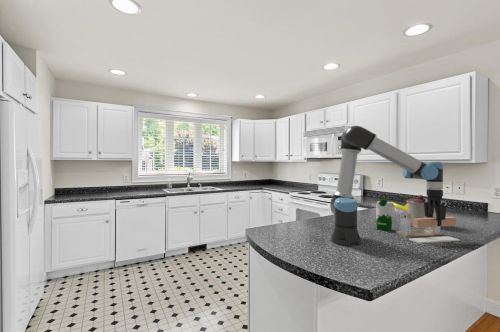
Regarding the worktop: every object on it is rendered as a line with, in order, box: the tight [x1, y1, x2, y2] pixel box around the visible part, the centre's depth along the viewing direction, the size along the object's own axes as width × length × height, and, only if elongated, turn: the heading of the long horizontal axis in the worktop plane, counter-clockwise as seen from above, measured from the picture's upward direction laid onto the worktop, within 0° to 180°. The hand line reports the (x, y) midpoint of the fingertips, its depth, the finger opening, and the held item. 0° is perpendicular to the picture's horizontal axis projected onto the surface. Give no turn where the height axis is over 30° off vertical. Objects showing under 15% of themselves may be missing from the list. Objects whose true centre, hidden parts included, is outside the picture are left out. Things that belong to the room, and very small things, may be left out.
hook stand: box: [395, 212, 441, 238], centre depth 155 cm, size 24×8×13 cm, turn 102°
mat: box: [408, 235, 461, 245], centre depth 142 cm, size 27×7×1 cm, turn 102°
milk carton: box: [375, 198, 393, 232], centre depth 166 cm, size 9×9×20 cm
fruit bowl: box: [391, 201, 409, 217], centre depth 213 cm, size 28×27×11 cm
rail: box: [412, 216, 457, 229], centre depth 142 cm, size 26×3×4 cm, turn 102°
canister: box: [405, 194, 435, 225], centre depth 182 cm, size 18×18×21 cm
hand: (434, 230), depth 142 cm, fingers closed on rail, 3 cm apart
